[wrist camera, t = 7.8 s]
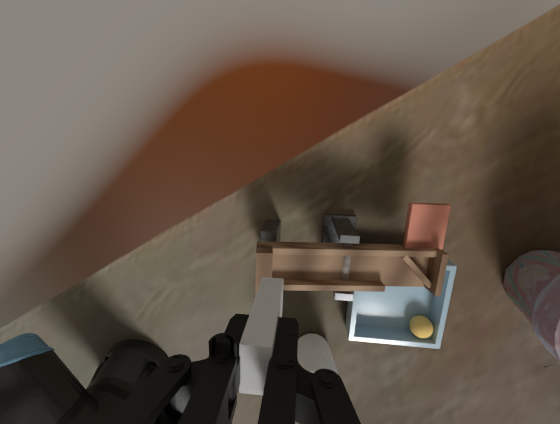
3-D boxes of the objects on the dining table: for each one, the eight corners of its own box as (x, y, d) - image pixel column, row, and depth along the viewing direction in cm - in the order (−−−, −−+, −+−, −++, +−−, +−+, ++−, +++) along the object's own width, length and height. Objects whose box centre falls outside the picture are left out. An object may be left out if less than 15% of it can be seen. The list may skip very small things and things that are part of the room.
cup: (303, 313, 48) (303, 360, 38) (349, 340, 49) (361, 394, 38) (276, 351, 51) (268, 405, 40) (320, 376, 51) (324, 436, 40)
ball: (412, 319, 47) (418, 307, 45) (432, 332, 45) (439, 321, 43) (403, 331, 45) (409, 320, 43) (423, 346, 43) (431, 335, 41)
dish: (345, 324, 48) (348, 340, 44) (353, 249, 45) (357, 259, 41) (428, 332, 47) (439, 348, 43) (443, 255, 43) (456, 266, 39)
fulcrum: (320, 267, 46) (325, 300, 36) (324, 213, 44) (330, 233, 33) (349, 269, 45) (362, 303, 35) (355, 215, 43) (370, 235, 33)
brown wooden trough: (256, 283, 37) (255, 300, 33) (258, 197, 34) (256, 204, 30) (427, 285, 38) (446, 302, 34) (442, 202, 35) (465, 209, 31)
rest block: (265, 254, 46) (259, 271, 40) (266, 219, 45) (260, 231, 39) (279, 255, 46) (275, 272, 40) (280, 220, 45) (276, 232, 38)
